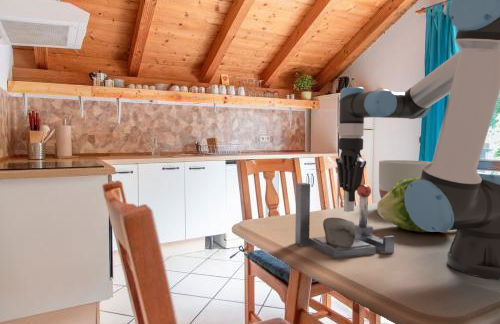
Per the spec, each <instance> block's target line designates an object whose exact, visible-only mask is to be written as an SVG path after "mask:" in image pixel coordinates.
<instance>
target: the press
mask: <svg viewBox="0 0 500 324" xmlns="http://www.w3.org/2000/svg"><path fill="white" fill-rule="evenodd" d="M310 217H311V184H310V183H307V182H296V183H295V235H294V236H295V237H294V238H295V241H294V243H295V244H296V245H298V246H299V247H303V246H304V247H305V246H310V247H312V248H314V249H316V250H317V251H319V252H321V253H323V254H324V255H326V256H328V257H329V258H332V259H334V260H336V259H337V260H338V259H346V258H353V257H359V256H360V255H362V256H368V254H369V255H375V254H376V251H378V252H380V253H382V252H383V253H382V254H384V253H385V255H387V254H386V253H388V254H393V253H395V236H394V235H385V236H382V238H381V237H377V236H375V235H373V234H366V235H361V234H358V233H356V235H355V239H354V243H353V244H352V246H351V247H350V248H338V247H335V246H331V245H330V244H329V243H328V242H327V241H326V238H325V236H318V237H310V225H311V223H310V221H311V219H310ZM375 249H376V250H375Z"/></svg>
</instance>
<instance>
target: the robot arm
mask: <svg viewBox="0 0 500 324" xmlns="http://www.w3.org/2000/svg"><path fill="white" fill-rule="evenodd" d="M448 11H449V12H448V15H449V19H450V20H451V24H452V25H453V26H454V28H456V29H457V31H456V35H455V38H454V42H455V44H456V45H457V47H458V48H459V50H458V51H457V52H456V53H455V54H453V55H452V56H451V57H449V58H448V59H447V60H446V61H444V62H443V63H441V64H440V65H439V66H437V67H436V68H435V69H434V70H432V71H431V72H430V73H428V74H427V75H426V76H425V77H423V78H422V79H420V80H419V81H417V83H416V84H413V86H411V87H410V88H409V89H408V90H406V91H405V92H404V91H403V92H397V91H391V90H389V89H379V88H378V89H374V90H370V91H366V90H365V88H364V87H361V86H349V87H344V88H342V89H341V90H340V92H339V93H340V95H339V100H338V101H339V108H338V109H339V114H338V115H339V117H338V119H339V120H338V121H339V123H338V136H339V137H340V138H338V149H339V150H341V151H340V156H339V157H336V158H335V163H336V168H337V172H338V173H337V175H338V183H339V185H338V186H339V188H342V190H343V211H344V212H347V213H349V212H354V210H355V209H354V208H355V200H356V197H355V195H356V192H357V189H358V187H359V186H360V185H362V180H363V174H364V169H365V167H366V165H367V161H366V160H363V159H362V154H361V151H362V150H363V149H364V139H363V138H362V137H363V136H364V129H365V128H364V125H365V118H383V119H385V118H386V119H388V118H389V119H392V118H393V119H409V120H414V119H422V118H424V117H426V116H427V115H428V113H429V112H430V110H431V107H432V105H434V104H435V103H437V102H439V101H440V100H442V99H443V98H445V97H446V96H448V95H449V96H448V100H447V102H446V107H445V112H444V114H443V119H442V123H441V127H440V129H439V134H438V138H437V142H436V145H435V149H434V153H433V158H432V161H429V162H430V163H428V164H427V165H425V166H424V167H423V170H422V174H421V178H420V180H415V181H414V182H412V183H411V184H409V186H408V187H407V189H406V192H405V207H406V210H407V212H408V213H409V216H410V218H411V220H412V221H413V222H414V223H415V224H416V225H417V226H418V227H420V228H421V229H423V230H426V231H428V232H431V233H435V232H439V233H446V232H448V231H456V233H455V235H454V237H453V240H452V243H451V245H450V247H449V250H448V251H447V254H446V255H447V258H446V263H447V265H448V266H449V267H451V268H452V269H454V270H457V271H459V272H461V273H464V274H468V275H472V276H476V277H479V278H484V279H485V278H486V279H493V280H500V174H492V173H485V172H478V171H477V170H478V166H479V162H480V159H481V156H482V152H483V149H484V146H485V143H486V142H485V141H486V138H487V136H488V132H489V129H490V127H491V126H490V125H491V122H492V118H493V115H494V113H495V108H496V106H497V101H498V99H499V96H500V0H451V1H450V5H449V10H448Z"/></svg>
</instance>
